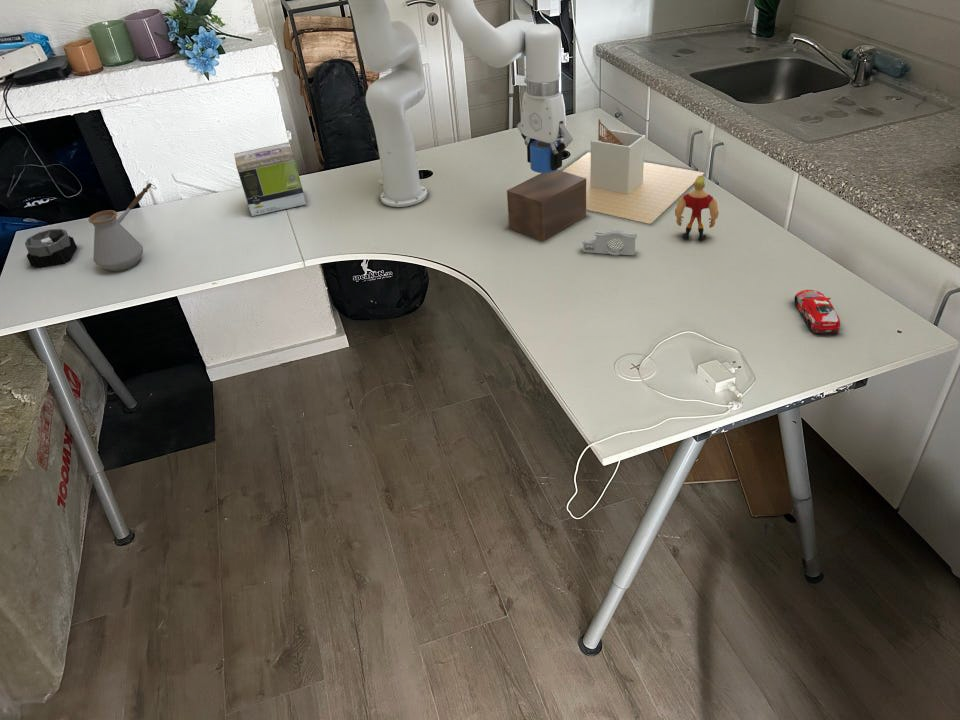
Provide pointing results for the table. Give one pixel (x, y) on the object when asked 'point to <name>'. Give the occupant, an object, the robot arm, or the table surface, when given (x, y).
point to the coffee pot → (115, 239)
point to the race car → (817, 311)
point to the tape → (541, 156)
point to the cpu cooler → (50, 248)
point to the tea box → (270, 178)
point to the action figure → (697, 208)
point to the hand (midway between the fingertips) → (544, 163)
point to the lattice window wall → (605, 237)
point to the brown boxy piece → (547, 204)
